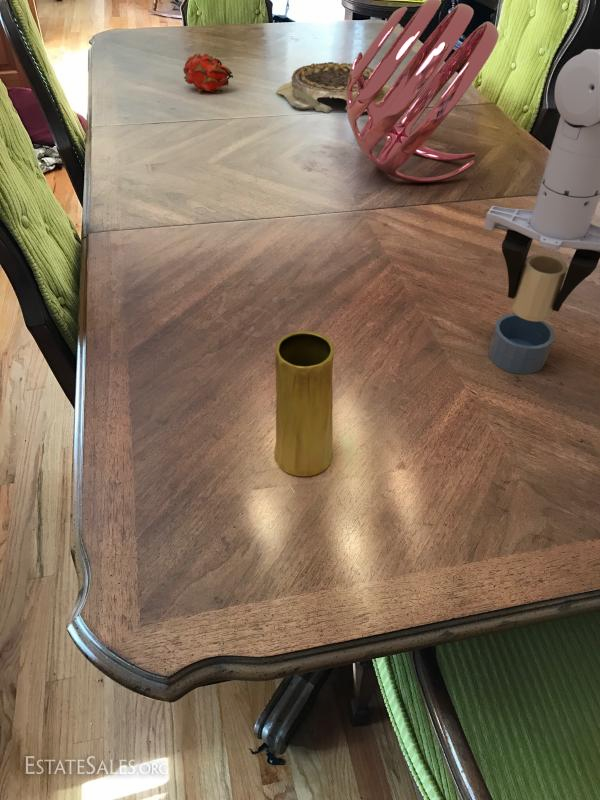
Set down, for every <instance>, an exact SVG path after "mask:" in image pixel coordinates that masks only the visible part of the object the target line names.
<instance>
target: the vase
mask: <svg viewBox="0 0 600 800" xmlns="http://www.w3.org/2000/svg"><path fill="white" fill-rule="evenodd" d="M334 355H335V345H334V344H333V342H332V341H331V339H329V337H327V336H325V335H324V334H321V333H319V332H316V331H311V330H309V331H308V330H298V331H293V332H290V333H288V334H286V335H284V336H283V337H281V338H280V339H279V340H278V342H277V344H276V349H275V389H276V391H275V392H276V393H275V394H276V396H275V399H276V401H275V444H274V445H275V446H274V451H273V457H274V460H275V463H276V464H277V466H278V467H279V468H280V469H281V470H282V471H284V472H286V473H287V474H289V475H292V476H295V477H311V476H316V475H318V474H321V473H323V472H324V471H325V470H326V469H327V468H328V467H329V466H330V464H331V463H332V460H333V455H334V451H333V436H334V435H333V430H334V429H333V428H334V427H333V426H334V425H333V423H334V422H333V408H334V407H333V406H334V405H333V401H334V400H333V398H334V397H333V396H334V395H333V368H334Z"/></svg>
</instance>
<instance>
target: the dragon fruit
mask: <svg viewBox="0 0 600 800" xmlns="http://www.w3.org/2000/svg"><path fill="white" fill-rule="evenodd" d="M182 71H183V73H184V76H183V79H184V82H186V83H187V84H188V85H194V87H196V90H197V91H198V93H201V92H202V91H206V92H210V93H212V94H220V93H222V92H223V90H222V89H218V88H221V87H225V86H229V83H230V82H229V81H230V80H229V79H233V78H234V75H233V72H232V71H231V69H230V68H229V67H227V66H224V65H223V63H222V62H221V59H219V58H216V57H215V58H213V56H212V55H210V54H208V53H204V54H202V55H201V53H194V54H193V55H192V56H189V57H188V58H187V61H185V63H184V66H183V68H182Z"/></svg>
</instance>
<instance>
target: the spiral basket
mask: <svg viewBox="0 0 600 800" xmlns="http://www.w3.org/2000/svg"><path fill="white" fill-rule="evenodd" d="M441 4H442V1H441V0H425V1H424V2H423V3H422V4H421V6H420V7H419V8H418V9H417V10H416V11H415V13H414V14H413V16H412V17H411V18H410V20H409V21H408V23H407V24H406V25H405V26H404V28H403V29H402V31H401V32H400V33H399V34H398V36H397V37H396V38H395V40H394V41H393V43H392V44H391V45H390V47H389V49H388V50H387V51H386V53H385V54H384V55H383V57H381V60H380V61H379V63H378V64H377V65H376V67H375V68H373V70H374V71H373V72H372V74H371V75H370V77H369V78H368V79H367V80H366V81H364V78H363V72H364V71H365V69H366V68H367V67H369V65H370V64H371V63H372V62H373V60H374V58H375V57H376V56H377V54H378V53H379V51H380V50H381V48H382V47H383V46H384V44H385V43H386V42H387V41H388V39H389V37H390V36H391V34H392V33H393V32H394V30H395V28H396V27H397V26H398V24H399V22H401V20H402V18H403V17H404V15H405V14H406V12H407V11H408V7H407V6H402V7H400V8H398V9H396V10H395V11H393V13H392V14H391V15H390V17H389V18H388V20H387V21H386V22H385V24H384V25H383V26H382V28H381V29H380V31H379V32H378V34H377V35H376V37H375V38H374V39H373V40H372V42H371V44H370V45H369V47H368V48H367V50H366V51H365V52H364V54H363V53H362V52H361V51H360V52H359V53H358V54H357V57H355V58H354V59H353V62H352V67H351V70H350V73H349V77H348V81H347V100H346V106H347V110H346V116H347V120H348V123H349V126H350V128H351V131H352V134H353V136H354V138H355V140H356V144H357V146H358V148H359V149H360V151H361V152H362V153H363V154H364V155H365V156H366V157H367V158H368V159H369V160H370V162H372V163H373V164H374V166H376V168H378V169H379V170H380V171H381V172H383V173H384V174H386V175H389V176H391V177H393V178H397V179H399V180H401V181H404V182H409V183H415V184H431V183H438V182H439V183H440V182H442V181H446V180H449V179H451V178H454V177H457V176H459V175H460V174H462V173H464V172H465V171H467V170H468V169H469V168H471V167H472V166H473V165H474V164H475V160H473V159H472V160H470V161H468V162H466V163H464V164H463V165H462V166H460V167H459V168H457V169H455V170H453V171H451V172H448V173H444V174H441V175H436V176H430V177H429V176H428V177H418V176H412V175H407V174H404V173H402V172H399V171H397V169H399V168H401V166H402V165H404V164H405V163H406V162H407V161H408V160H409V159H410V158H411V157H412V156H413V155H414V154H415V155H417V156H420V157H423V158H427V159H431V160H434V161H443V162H457V161H465V160H468V159H471V158H473V157H475V156H476V155H477V154H476V153H475V152H467V153H450V152H449V153H448V152H445V151H444V152H443V151H440V150H437V149H433V148H431V147H429V146H426V145H424V143H425V142H427V140H429V138H430V137H431V135H432V134H433V133H434V132H435V131H436V130H437V128H438V127H439V126H440V125H441V124H442V123H443V121H444V120H445V119H446V117H447V116H448V115H449V114H450V112H451V111H452V110H453V109H454V107H456V105H458V104H457V103H458V102H459V101H460V100H461V99H462V97H463V96H464V94H466V92H467V90H468V89H469V87H470V86H471V85H472V84H473V82H474V81H475V80H476V78H477V77H478V75H479V74H480V72H481V70H482V69H483V67H484V66H485V64H486V63H487V61H488V60H489V58H490V57H491V55H492V53H493V51H494V49H495V47H496V46H497V43H498V41H499V35H500V32H499V30H498V29H497V27H496V26H495V24H493V23H492V22H491V21H485V22H483V23H482V24H480V25H479V26H478V27H477V28H475V30H473V31H472V33H470V34H469V36H467V37H466V39H465V40H464V41H463V42H462V43H461V44H460V45H459V46H458V47H457V48H456V49H455V51H454V52H453V53H451V52H452V51H453V50H454V48H455V46H456V45H457V43H458V42H459V40H460V38H461V37H462V35H463V34H464V33H465V31H466V29H467V27H468V26H469V24H470V22H471V21H472V18H473V16H474V14H475V13H474V9H473V8H472V7H471V6H470V5H468V4H465V3H458V4H457V5H455V6H454V7H453V8H452V10H450V11H449V13H447V15H446V16H445V17H444V18H443V19H442V21H441V22H440V23H439V24H438V25H437V26H436V28H435V29H434V30H433V31H432V33H430V35H429V36H428V38H427V39H426V40H425V42H423V44H422V45H421V46H420V48H419V49H418V50H417V51H416V53H415V54H414V56H413V57H412V58H411V60H410V61H409V62H408V63H407V65H406V66H405V68H404V69H403V70H402V72H401V73H400V74H399V76H398V77H397V78H396V79H395V81H394V82H393V84H392V85H391V86H390V87H391V88H390V89H389V91H388V92H387V94H386V95H385V97H384V98H383V99H382V101H381V102H380V103H379V104H376V103H375V102H374V101H373V100H374V98H375V97H376V96H377V94H378V93H379V92H380V91H381V89H382V88H383V87H384V85H385V84H386V85H387V82H389V80H390V78H391V77H392V76H393V75H394V73H395V72H396V70H397V69H398V68H399V66H400V65H401V63H403V61H404V60H405V58H406V57H407V56H408V54H409V53H410V51H412V49H413V47H414V46H415V44H416V43H417V41H418V40H419V39H420V37H421V36H422V34H423V33H424V31H425V30H426V28H427V27H428V25H429V24H430V22H431V21H432V19H433V18H434V16H435V15H436V13H437V11H438V10H439V8H440V7H441ZM450 53H451V55H450ZM449 55H450V56H449ZM448 56H449V57H448ZM446 59H447V60H446ZM460 68H461V69H460ZM459 69H460V71H458V70H459ZM457 71H458V73H457ZM456 73H457V74H456ZM455 74H456V76H455V77H454V79H452V77H453V76H454V75H455ZM450 79H452V81H451V83H450V84H449V85H448V87H447V88H446V89H445V91H444V92H443V94H442V95H441V96H440V97H439V98H438V100H436V103H434V104H433V106H432V107H431V109H430V110H429V111H428V112H427V113H426V115H425V116H424V117H423V119H422V120H421V121H420V122H419V124H418V125H416V127H415V128H414V129H413V127H414V126H415V124H416V123H417V121H418V120H419V119H420V117H421V116H422V115H423V113H424V112H425V111H426V109H427V108H428V107H429V105H430V104H431V103H432V101H433V100H435V98H436V97H437V95H438V94H439V93H440V92H441V91H442V89H443V88H444V87H445V85H447V83H448V82H449V81H450ZM356 82H357V88H358V91H357V95H356V97H355V99H354V100H353V101H352V93H353V86H354V85H355V83H356ZM365 110H367V111H366V113H367V117H368V119H367V121H366V123H365V125H364V126H363V128H362V130H361V131H360V130H359V127H358V120H359V118H361V116H362V115H363V114H364V113H365V112H364V111H365ZM363 112H364V113H363ZM400 119H401V120H400ZM412 129H413V131H411V130H412ZM410 132H411V133H410ZM385 137H386V142H385V144H384V146H383V147H382V149H381V150H380V153H379V155H378V157H377V156H376V155H375V154H374V152H373V149H374V148H375V147H377V145H379V143H380V142H381V141H382V140H383V139H384V138H385Z"/></svg>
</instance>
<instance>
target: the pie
mask: <svg viewBox="0 0 600 800" xmlns="http://www.w3.org/2000/svg"><path fill="white" fill-rule="evenodd" d="M352 64H353V62H352V63H351V62H350V63H346V62H341V63H339V62H333V61H328V62H321V63H311V64H308V65H303V66H301V67H297V69H296V70H294V71H293V73H292V75H291V81H288V82H286V83H283V84H282V85H280V86H279V87H278V88H277V89H276V91H275V92H276V93H277V94H279V95H282V96H283V97H284V98H285V99H286V100H287V102H288V103H289V105H290V106H292V107H295V108H297V109H301V110H308V109H315V112H316V113H317V112H319V113H321V112H324V113H327V114H328V113H329V112H331V111H333V108H332V107H331V106H330V105H327V104H325V103H323V102H320V101H318V99H319V98H330V99H332V98H334V99H338V98H339V99H342V100H344V101H347V81H348V77H349V73H350V70H351V67H352ZM373 71H374V68H372V67H370V66H368V67H367V68H366V69H365V71H364V72H363V78H364V81H366V80H367V79H368V78H369V77H370V75H371V74H372V72H373ZM391 87H392V86H390V85H388V84H387V83H386V84H385V85H384V87H383V88H382V89H381V91H380V92H379V93H378V94H377V96H376V97H375V98H374V100H373V101H374V102H375V103H376V104H379V103H380V102H381V101H382V99H383V98H384V97H385V95H386V94H387V92H388V91H389V89H390V88H391ZM357 91H358V88H357V82H356V83H355V85H354V86H353V93H352V101H353V100H354V99H355V97H356V95H357ZM344 110H345V111H347V105H346V106H345V108H344ZM365 113H367V110H365V111H364V112H363V113H362V114H365Z"/></svg>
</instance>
